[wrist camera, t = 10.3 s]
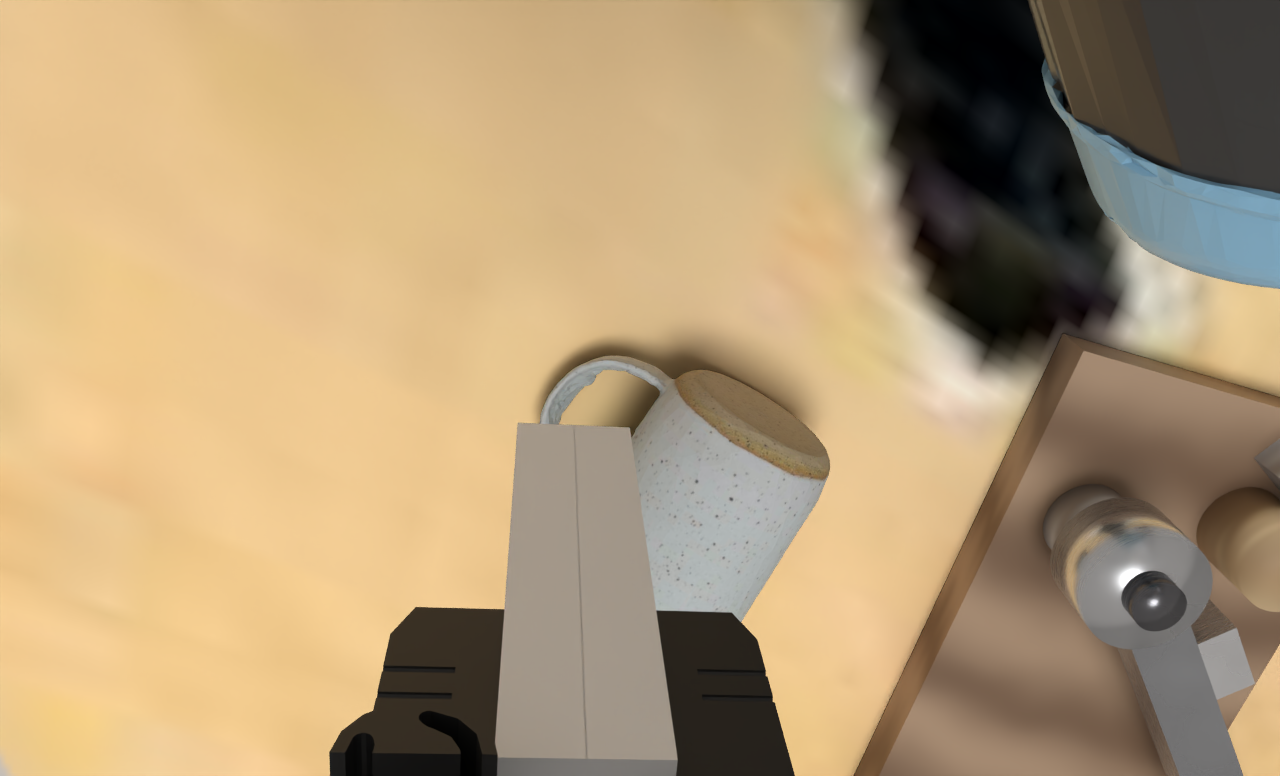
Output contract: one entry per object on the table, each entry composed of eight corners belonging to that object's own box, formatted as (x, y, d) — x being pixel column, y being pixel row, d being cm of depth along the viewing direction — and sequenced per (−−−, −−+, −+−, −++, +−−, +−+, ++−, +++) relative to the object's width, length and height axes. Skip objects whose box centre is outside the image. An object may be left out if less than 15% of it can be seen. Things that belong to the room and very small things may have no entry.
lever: (1024, 518, 47) (1076, 585, 42) (1148, 462, 46) (1215, 524, 41) (1189, 928, 56) (1247, 1019, 51) (1294, 886, 56) (1361, 974, 51)
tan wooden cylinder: (1222, 477, 48) (1272, 519, 45) (1300, 499, 49) (1354, 542, 46) (1180, 554, 50) (1225, 600, 46) (1256, 574, 50) (1306, 620, 47)
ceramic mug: (823, 414, 48) (867, 499, 41) (721, 566, 50) (746, 671, 43) (599, 297, 46) (605, 366, 38) (504, 462, 48) (493, 556, 41)
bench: (1062, 333, 47) (1130, 389, 42) (1369, 424, 50) (1471, 487, 45) (792, 907, 58) (817, 1011, 53) (1055, 956, 61) (1105, 1060, 56)
